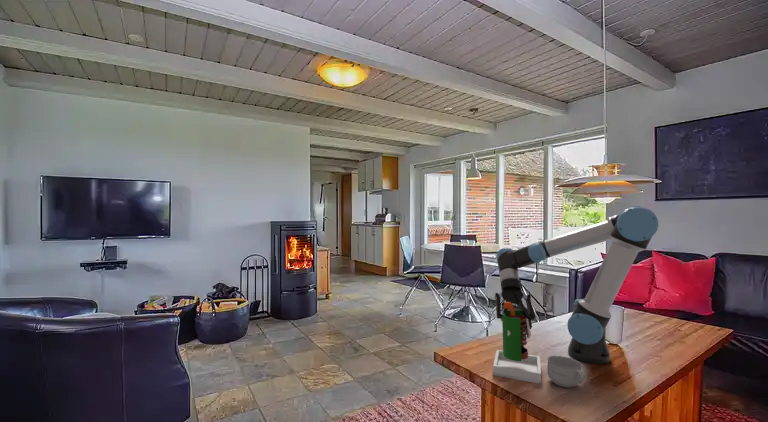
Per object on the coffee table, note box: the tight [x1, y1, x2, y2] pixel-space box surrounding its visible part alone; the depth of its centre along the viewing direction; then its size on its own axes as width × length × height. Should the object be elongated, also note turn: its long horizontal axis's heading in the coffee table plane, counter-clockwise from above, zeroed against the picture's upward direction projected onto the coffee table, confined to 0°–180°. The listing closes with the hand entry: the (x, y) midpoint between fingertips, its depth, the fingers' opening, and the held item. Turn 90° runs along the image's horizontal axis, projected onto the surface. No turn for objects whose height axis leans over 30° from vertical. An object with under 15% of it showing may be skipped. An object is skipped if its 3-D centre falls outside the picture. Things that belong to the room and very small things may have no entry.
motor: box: [501, 301, 529, 361], centre depth 140 cm, size 10×9×20 cm
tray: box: [492, 349, 542, 384], centre depth 140 cm, size 16×16×4 cm
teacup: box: [546, 355, 586, 388], centre depth 128 cm, size 14×11×8 cm
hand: (518, 336), depth 136 cm, fingers closed on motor, 6 cm apart
